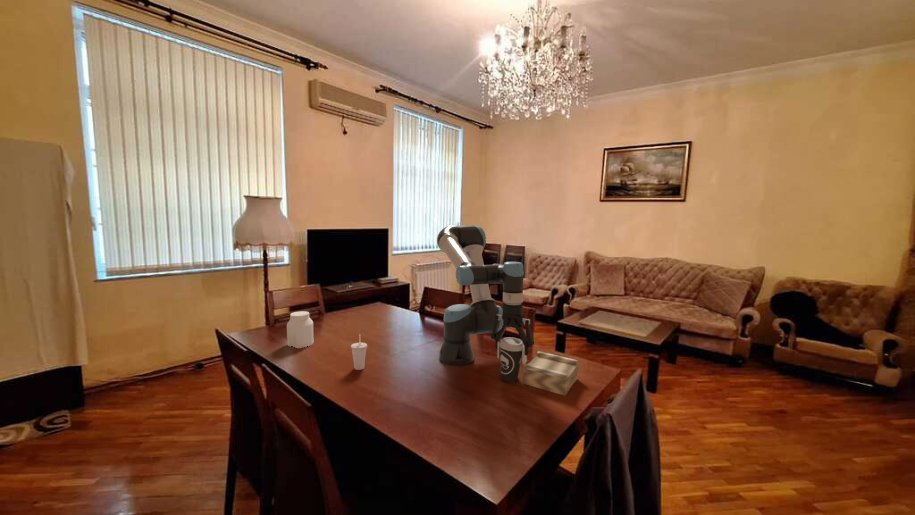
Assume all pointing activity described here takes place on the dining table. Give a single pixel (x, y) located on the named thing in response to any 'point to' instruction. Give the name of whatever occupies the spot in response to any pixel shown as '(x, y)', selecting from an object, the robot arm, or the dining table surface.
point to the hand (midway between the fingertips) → (511, 360)
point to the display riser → (551, 373)
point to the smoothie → (359, 354)
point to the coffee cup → (510, 358)
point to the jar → (300, 330)
